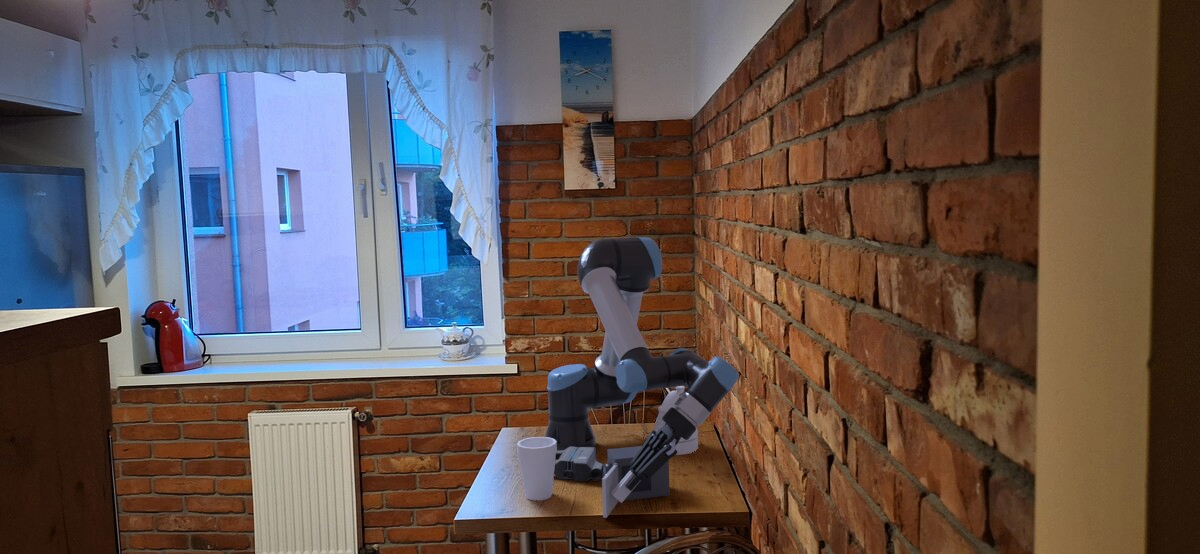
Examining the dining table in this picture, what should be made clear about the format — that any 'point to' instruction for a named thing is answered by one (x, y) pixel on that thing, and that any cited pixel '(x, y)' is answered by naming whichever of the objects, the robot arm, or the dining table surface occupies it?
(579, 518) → the dining table surface
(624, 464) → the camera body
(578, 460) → the camcorder
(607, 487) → the side door
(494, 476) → the dining table surface
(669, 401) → the honey pot
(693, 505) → the dining table surface
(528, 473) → the foam cup
